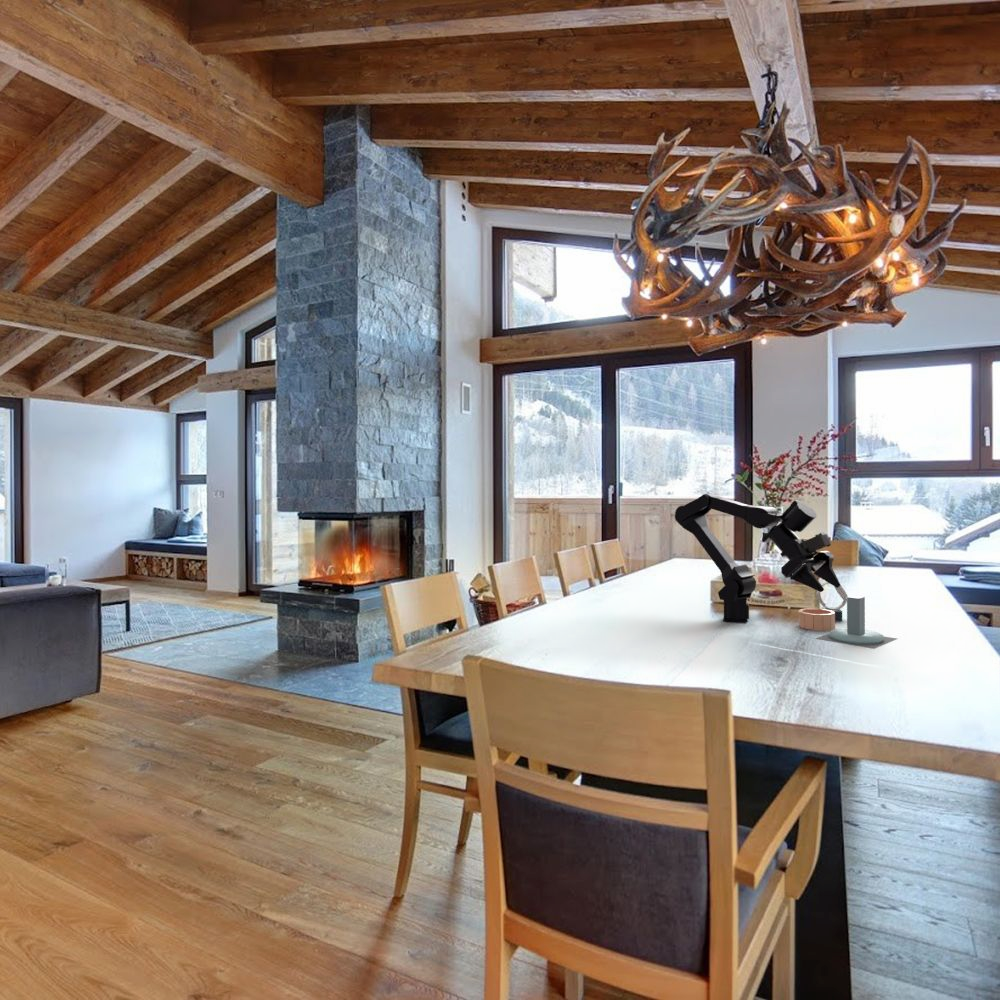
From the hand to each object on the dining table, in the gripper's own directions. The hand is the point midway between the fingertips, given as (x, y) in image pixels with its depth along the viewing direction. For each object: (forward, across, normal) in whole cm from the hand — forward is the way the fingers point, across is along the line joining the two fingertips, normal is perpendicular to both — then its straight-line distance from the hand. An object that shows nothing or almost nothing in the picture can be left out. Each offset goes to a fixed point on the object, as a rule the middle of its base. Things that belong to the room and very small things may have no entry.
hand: (831, 588), depth 174 cm
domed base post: (+13, 0, +4) cm, 13 cm away
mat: (+13, 0, +4) cm, 14 cm away
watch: (+3, +19, +15) cm, 25 cm away
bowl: (+4, +6, +14) cm, 15 cm away
